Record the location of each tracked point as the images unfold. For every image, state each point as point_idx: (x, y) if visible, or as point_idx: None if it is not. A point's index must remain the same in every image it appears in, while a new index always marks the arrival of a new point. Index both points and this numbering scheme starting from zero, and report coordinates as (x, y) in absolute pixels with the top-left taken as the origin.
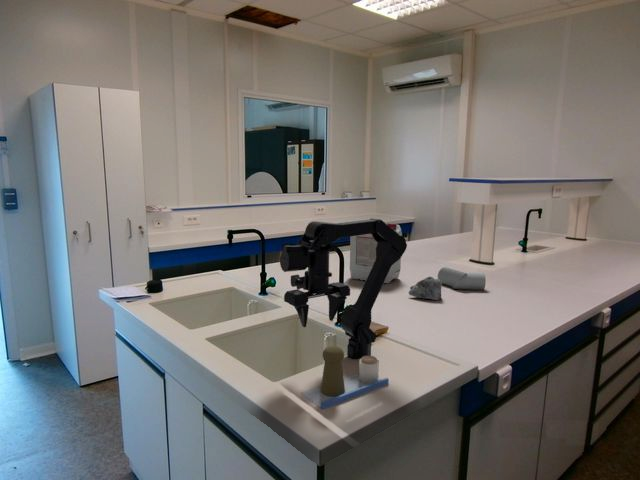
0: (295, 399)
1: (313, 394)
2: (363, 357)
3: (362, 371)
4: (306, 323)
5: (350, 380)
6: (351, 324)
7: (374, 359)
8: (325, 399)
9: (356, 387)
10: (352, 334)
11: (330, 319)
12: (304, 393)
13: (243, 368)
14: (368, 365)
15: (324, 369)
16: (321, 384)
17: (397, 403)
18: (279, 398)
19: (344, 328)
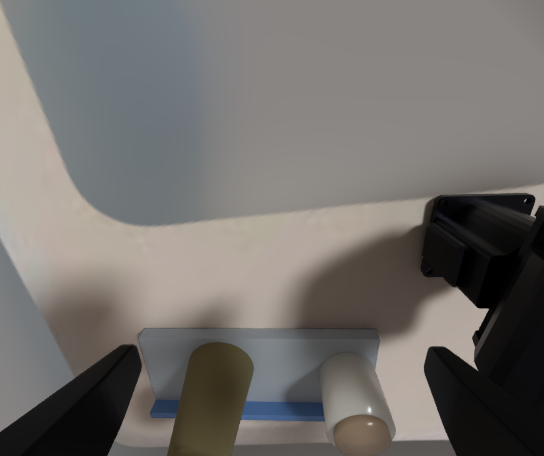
0: (129, 325)
1: (166, 356)
2: (354, 428)
3: (323, 406)
4: (122, 415)
5: (299, 354)
6: (527, 404)
7: (373, 450)
8: (182, 384)
9: (285, 384)
10: (476, 354)
11: (431, 367)
12: (146, 342)
13: (4, 37)
14: (334, 444)
15: (173, 429)
16: (188, 369)
17: (326, 436)
18: (90, 302)
19: (516, 293)
